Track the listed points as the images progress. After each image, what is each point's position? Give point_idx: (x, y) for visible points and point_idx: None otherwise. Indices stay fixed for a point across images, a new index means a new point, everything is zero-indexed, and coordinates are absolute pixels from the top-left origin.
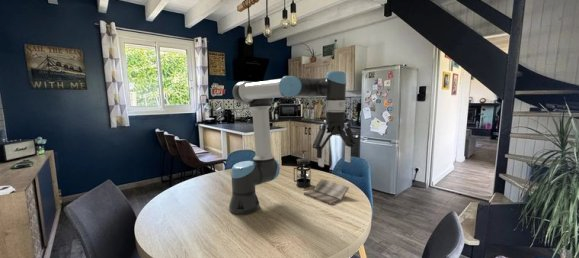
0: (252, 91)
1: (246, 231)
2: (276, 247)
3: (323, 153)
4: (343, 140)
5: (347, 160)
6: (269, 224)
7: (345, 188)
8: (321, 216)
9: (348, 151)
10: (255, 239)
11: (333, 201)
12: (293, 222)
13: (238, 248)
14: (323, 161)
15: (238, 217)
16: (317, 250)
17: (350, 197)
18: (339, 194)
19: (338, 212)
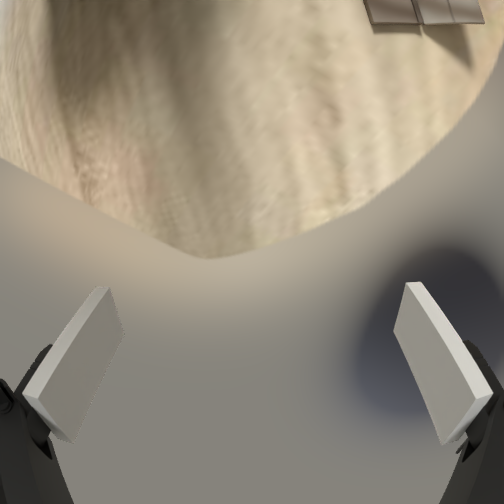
0: None
1: (40, 82)
2: (80, 179)
3: (78, 417)
4: (476, 479)
5: (402, 324)
6: (97, 59)
7: (473, 15)
8: (283, 73)
9: (429, 399)
10: (48, 127)
11: (391, 21)
12: (167, 69)
13: (17, 151)
14: (105, 362)
15: (47, 3)
16: (162, 234)
17: (468, 34)
18: (438, 9)
19: (359, 83)
